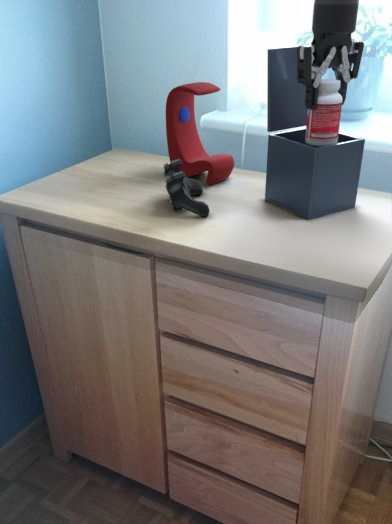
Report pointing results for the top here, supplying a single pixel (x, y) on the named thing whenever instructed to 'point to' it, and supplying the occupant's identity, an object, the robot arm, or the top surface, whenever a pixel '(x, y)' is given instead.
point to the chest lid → (285, 91)
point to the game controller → (183, 189)
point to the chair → (192, 135)
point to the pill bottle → (325, 115)
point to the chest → (312, 173)
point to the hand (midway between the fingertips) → (324, 106)
